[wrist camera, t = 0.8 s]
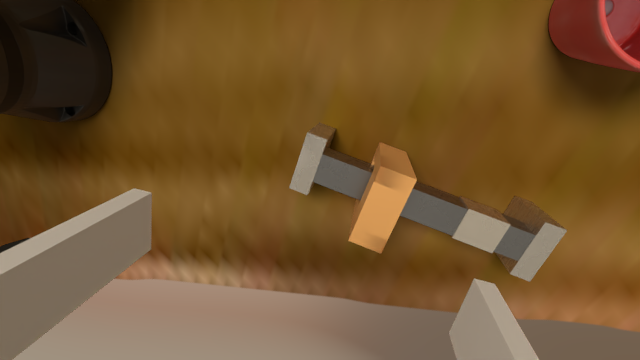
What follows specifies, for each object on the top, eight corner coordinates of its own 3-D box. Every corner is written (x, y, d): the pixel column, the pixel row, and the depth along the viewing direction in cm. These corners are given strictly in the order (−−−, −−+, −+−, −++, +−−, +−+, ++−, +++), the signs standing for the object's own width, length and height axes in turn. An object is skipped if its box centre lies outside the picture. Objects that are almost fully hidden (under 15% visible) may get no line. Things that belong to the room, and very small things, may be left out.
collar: (355, 199, 36) (348, 240, 27) (379, 142, 33) (380, 166, 24) (380, 209, 35) (381, 253, 26) (406, 151, 33) (417, 179, 24)
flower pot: (654, -89, 25) (813, -183, 16) (679, 43, 27) (829, 26, 18) (515, -17, 28) (581, -63, 19) (547, 95, 30) (620, 103, 21)
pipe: (303, 169, 37) (289, 188, 31) (319, 122, 35) (307, 132, 29) (503, 246, 36) (529, 281, 30) (532, 202, 34) (567, 230, 28)
